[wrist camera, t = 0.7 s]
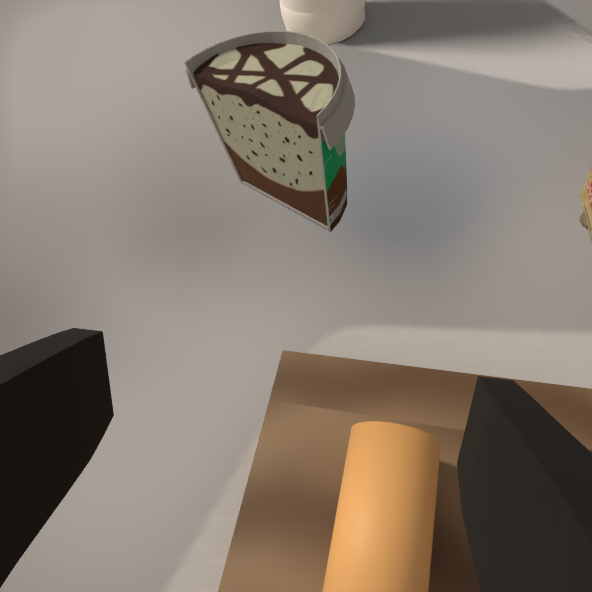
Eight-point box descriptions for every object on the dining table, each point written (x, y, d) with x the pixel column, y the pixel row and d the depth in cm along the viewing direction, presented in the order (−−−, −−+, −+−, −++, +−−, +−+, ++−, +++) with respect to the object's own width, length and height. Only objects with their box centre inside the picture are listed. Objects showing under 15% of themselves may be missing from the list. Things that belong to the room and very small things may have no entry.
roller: (419, 691, 19) (419, 704, 16) (319, 660, 20) (299, 666, 17) (439, 457, 24) (442, 430, 20) (356, 443, 25) (346, 415, 22)
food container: (401, 184, 36) (396, 53, 27) (347, 241, 34) (325, 119, 26) (279, 129, 42) (245, 9, 34) (227, 175, 40) (179, 59, 32)
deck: (957, 1055, 14) (1009, 1097, 13) (187, 751, 21) (172, 759, 20) (787, 427, 23) (808, 416, 22) (288, 361, 30) (282, 350, 28)
